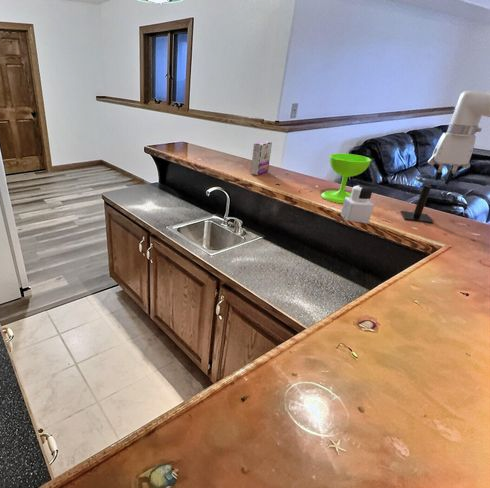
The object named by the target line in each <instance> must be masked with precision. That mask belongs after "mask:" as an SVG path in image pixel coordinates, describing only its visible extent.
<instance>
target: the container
mask: <svg viewBox="0 0 490 488" xmlns="http://www.w3.org/2000/svg"><path fill="white" fill-rule="evenodd" d="M373 191H374V190H373V189H372V188H371V187H370V186H368V185H361V184H360V185H359V184H358V185H354V186H353V187H352V190H351V192H350V193H351V196H350V197H345V200H344V204H342V207H341V211H340V212H341V213H340V217H342V219H343V220H344V221H346V222H347V221H348V222H355V223H363V224H369V223H370V221H371V217H372V214H373V210H374V207H375V204H374V203H373V202H371V197H372V194H373Z"/></svg>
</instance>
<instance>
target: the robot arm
mask: <svg viewBox="0 0 490 488" xmlns="http://www.w3.org/2000/svg"><path fill="white" fill-rule="evenodd" d="M482 117H487V118H490V91H486V90H478V89H477V90H473V89H471V90H470V89H469V90H464V91H462V92H461V93H460V95H459V97H458V100H457V103H456V106H455V108H454V111H453V114H452V116H451V119H450V122H449V123H448V127H447V130H446V132H443V133H442V134H441V136H440V137H439V140H438V141H437V143H436V145H435V148H434V149H433V152H432V155H431V157H430V158H429V159H428V160H427V162H426V163H427V164H428V165H430V166H432V167H433V168H434V169H435V174H434V175H435V176H434V180H440V179H441V177H443V169H444V167H445V165H450V169H449V170H448V171H447V172H446V174H445V176H444V179H446V183H445V185H449V183H451V182H452V179H453V178H454V174H456V173H458V172H460V171H461V170H465V169H468V168H470V167H471V161H470V160H471V158H472V155H473V151H474V148H475V144H476V138H477V136H476V134H477V133H481V132H482V127H480V126H479V124H480V121H481V118H482Z"/></svg>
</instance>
